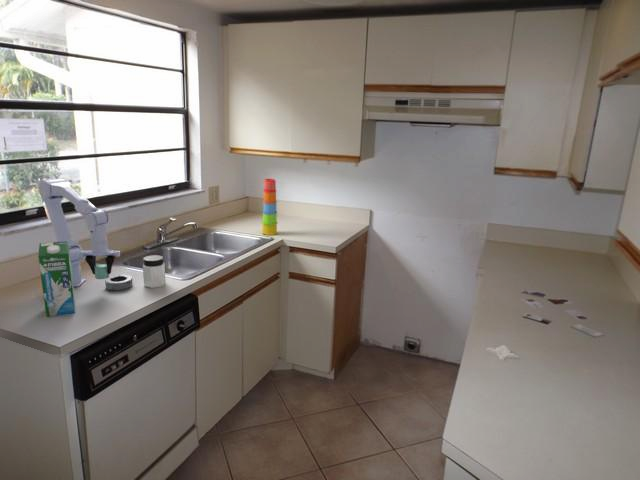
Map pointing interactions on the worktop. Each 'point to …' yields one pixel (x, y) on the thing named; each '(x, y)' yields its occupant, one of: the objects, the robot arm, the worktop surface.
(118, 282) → the barrel ring
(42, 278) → the milk carton
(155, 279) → the jar
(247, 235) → the worktop surface
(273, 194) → the stacking cups
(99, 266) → the mint green cube
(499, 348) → the acanthus leaf ornament
